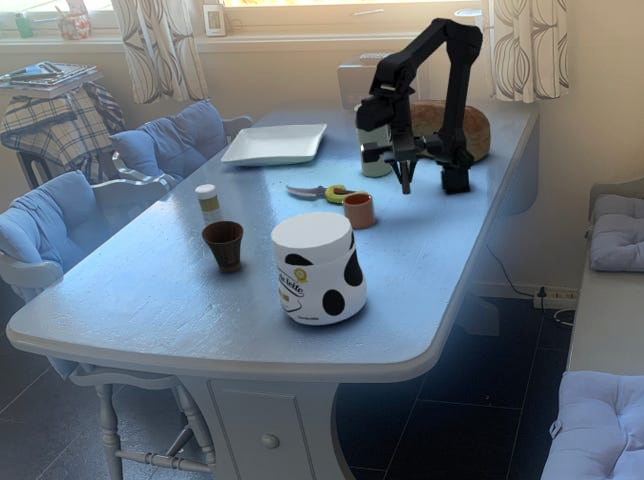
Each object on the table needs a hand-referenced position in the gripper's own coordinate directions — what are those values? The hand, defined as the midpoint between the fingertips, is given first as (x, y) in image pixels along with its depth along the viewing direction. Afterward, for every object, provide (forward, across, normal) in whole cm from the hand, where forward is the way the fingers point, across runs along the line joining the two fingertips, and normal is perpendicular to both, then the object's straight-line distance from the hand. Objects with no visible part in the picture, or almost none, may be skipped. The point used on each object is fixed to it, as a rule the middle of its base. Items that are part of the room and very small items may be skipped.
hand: (405, 183), depth 180 cm
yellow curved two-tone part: (+9, -20, +18) cm, 28 cm away
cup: (+9, -42, -15) cm, 45 cm away
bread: (+8, +15, +37) cm, 41 cm away
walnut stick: (+2, 0, 0) cm, 2 cm away
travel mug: (+9, -5, +30) cm, 32 cm away
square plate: (+9, -32, +55) cm, 64 cm away
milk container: (+9, -22, -38) cm, 45 cm away
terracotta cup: (+8, -12, 0) cm, 15 cm away
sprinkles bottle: (+9, -46, +1) cm, 47 cm away
